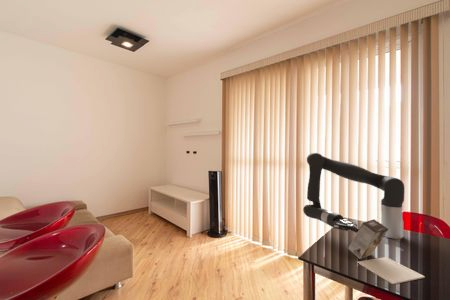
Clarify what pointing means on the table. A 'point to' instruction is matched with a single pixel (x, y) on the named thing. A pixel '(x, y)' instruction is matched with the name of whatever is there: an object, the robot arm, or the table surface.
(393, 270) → the mat
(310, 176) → the robot arm
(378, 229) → the coffee box
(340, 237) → the table surface
